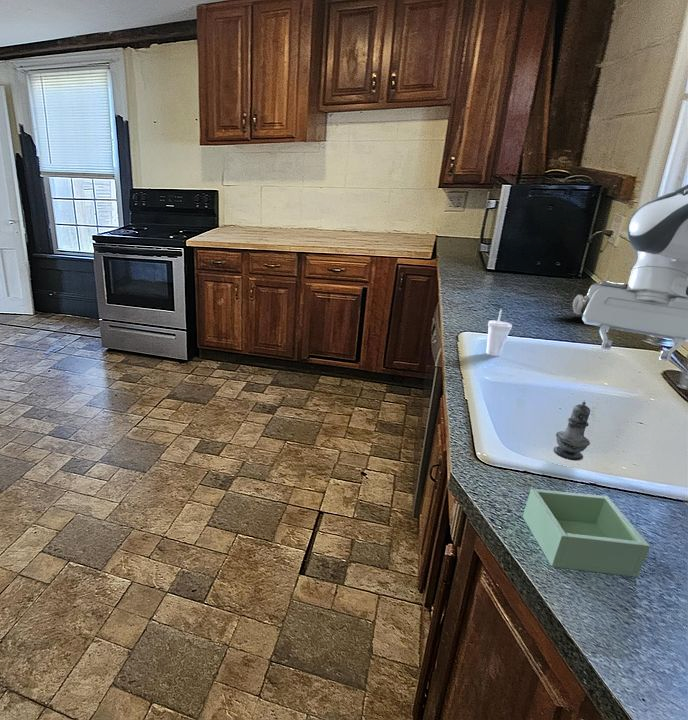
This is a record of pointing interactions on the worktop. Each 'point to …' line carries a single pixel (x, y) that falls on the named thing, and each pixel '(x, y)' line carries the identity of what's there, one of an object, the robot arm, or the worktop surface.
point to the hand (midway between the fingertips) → (634, 354)
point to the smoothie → (497, 335)
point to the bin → (584, 533)
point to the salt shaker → (574, 435)
